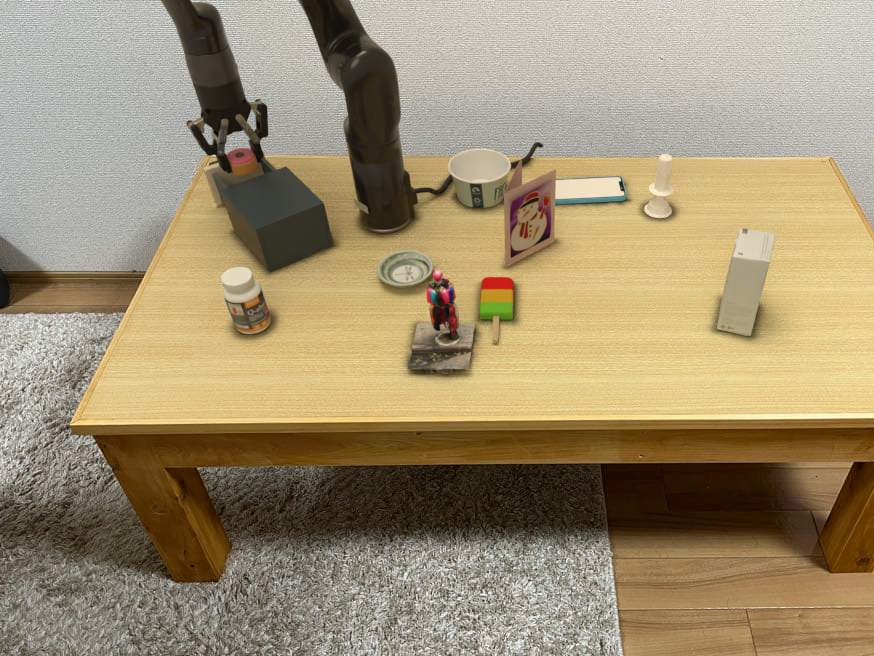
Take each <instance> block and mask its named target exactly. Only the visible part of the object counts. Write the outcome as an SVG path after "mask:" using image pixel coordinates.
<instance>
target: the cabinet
mask: <svg viewBox="0 0 874 656" xmlns="http://www.w3.org/2000/svg"><path fill="white" fill-rule="evenodd" d="M220 191H221V194H222V197H223V200H224V203H225V206H226V208H227V209H226V208H225V209H226V210H227V214H228V217H229V221H230V222H231V226H232V228H233V232H234V233H235V234H236V236H237V237H238V238H239V239H240V240H241V241H242V242H243V244H244V245H245V246H246V247H247V248H248V250H249V252H251V253H252V254H253V256H254V257H255V258H256V259H257V260H258V262H260V263H261V265H262V266H263V267H264V268H265V269H266V270H267V272H268V273H271V272H274V271H277V270H279V269H281V268H283V267H286V266H288V265H291V264H293V263H295V262H298V261H301V260H303V259H305V258H308V257H310V256H313V255H315V254H317V253H319V252H322V251H324V250H327V249H330V248H332V247H334V245H335V244H334V240H333V236H332V232H331V227H330V222H329V218H328V215H327V210H326V206H325V203H324V201H322V199H321V198H320V197H318V195H317V194H315V193H314V192H313V191H312V190H311V189H310V188H309V187H308V186H307V185H306V184H305V183H304V182H303V181H302V180H301V179H300V178H299V177H298V176H297V175H296V174H295V173H294V172H292V170H291V169H290V168H289V167H288V166H283V167H280V168H278V169H277V168H276V170H274V171H272V172H269V173H266V174H263V175H260V176H258V177H255V178H252V179H249V180H246V181H243V182H241V183H238V184H235V185H232V186H229V187H226V188H224V189H221V190H220Z"/></svg>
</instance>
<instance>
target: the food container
mask: <svg viewBox="0 0 874 656" xmlns="http://www.w3.org/2000/svg"><path fill="white" fill-rule="evenodd" d="M511 169H512V167H511V161H510V159H509V158H508V156H506V155H505V153H502V152H500V151H497V150H494V149H490V148H470V149H467V150H463V151H460V152H458V153H456V154H455V155H453V156H452V157H451V158H450V159H449V161H448V163H447V170H448V173H449V175H452V178H453V180H452V181H453V186H454V189H455V193H456V196H457V199H458V200H459V202H460V203H461V204H463V205H464V206H466V207H469V208H475V209H486V208H490V207H494V206H496V205H498V204H499V203H501V202H502V201H503V200H504V192H505V190H506V188H507V181H508V175H509V173H510V171H511Z"/></svg>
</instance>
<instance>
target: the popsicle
mask: <svg viewBox="0 0 874 656" xmlns="http://www.w3.org/2000/svg"><path fill="white" fill-rule="evenodd" d="M480 285H481V286H480V299H479V319H480V320H492V332H491V333H492V334H491V341H492V342H499V335H500V334H499V332H500V331H499V330H500V320H514V298H515V297H514V295H515V294H514V292H515V291H514V290H515V283H514V280H513V278H511V277H509V276H487V277H486V276H485V277H483V278H482V280H481V283H480Z"/></svg>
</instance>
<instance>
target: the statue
mask: <svg viewBox="0 0 874 656" xmlns="http://www.w3.org/2000/svg"><path fill="white" fill-rule="evenodd" d="M432 279H433V280H432V281H429V282H428V285H427V287H426V290H425V291H426V293H425V294H426V296H425V297H426V302H427V303H428V304H429V317H430V322H417V323H416V328H415V333H414V337H413V341H412V345H411V349H410V350H411V351H410V352H411V355H410V358H409V362H408V365H407V367H406V369H407V370H423V371H425V372H426V373H428V374H432V373H433V371H435V370H436V372H438V373H440V374H443V375H444V374H445V375H450V374H451V373H452V372H455V371H456V370H461V369H462V370H463V369H467V370H468V369H469V366H470V362H471V356H472V354H473V353H472V345H474V334H475V326H476V323H475V322H460V312H459V307H458V306H457V303H456V302H455V300H456V298H457V295H456V291H455V287H454V286H455V285H454V283H453V281H451V280H450V279H449V278H445V276H444V272H443V271H442V270H441V269H439V268H435V269H434V268H433V271H432Z"/></svg>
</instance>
